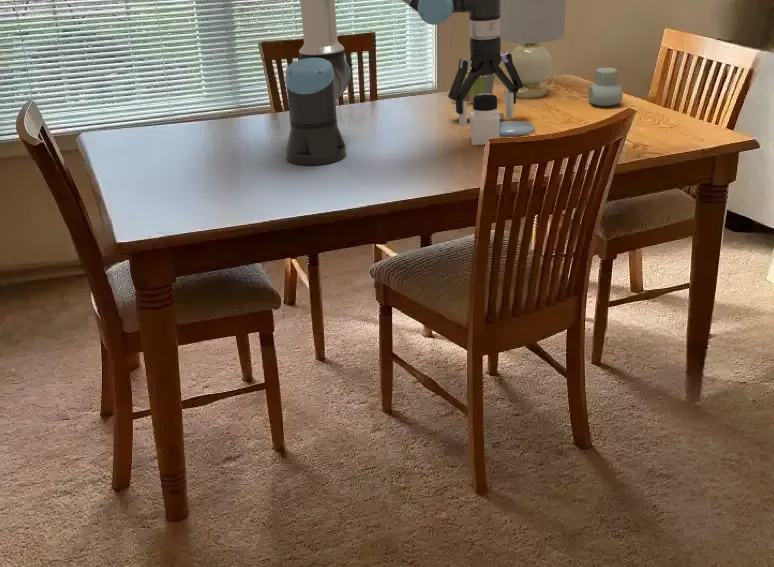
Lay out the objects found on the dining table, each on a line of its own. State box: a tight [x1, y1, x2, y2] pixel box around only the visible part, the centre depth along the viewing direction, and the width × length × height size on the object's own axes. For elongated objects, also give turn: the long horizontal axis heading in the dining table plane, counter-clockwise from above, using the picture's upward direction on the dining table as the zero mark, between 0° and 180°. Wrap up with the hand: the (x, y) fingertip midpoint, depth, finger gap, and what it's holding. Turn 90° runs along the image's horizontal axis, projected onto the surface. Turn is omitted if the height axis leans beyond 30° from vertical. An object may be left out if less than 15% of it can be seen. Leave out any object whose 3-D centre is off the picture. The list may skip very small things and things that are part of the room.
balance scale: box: [450, 66, 528, 122], centre depth 237 cm, size 21×6×15 cm, turn 84°
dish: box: [500, 120, 536, 137], centre depth 230 cm, size 12×12×1 cm
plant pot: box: [466, 70, 496, 98], centre depth 257 cm, size 9×9×9 cm
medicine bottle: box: [469, 93, 501, 146], centre depth 220 cm, size 7×7×12 cm
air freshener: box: [587, 67, 624, 107], centre depth 247 cm, size 11×8×10 cm
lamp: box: [498, 0, 567, 99], centre depth 257 cm, size 20×20×35 cm
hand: (486, 121), depth 220 cm, fingers open, 13 cm apart
